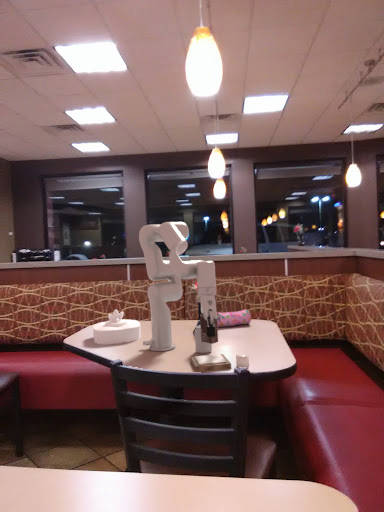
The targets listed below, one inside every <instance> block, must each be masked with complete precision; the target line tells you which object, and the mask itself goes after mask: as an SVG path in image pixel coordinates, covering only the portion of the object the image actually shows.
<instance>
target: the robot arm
mask: <svg viewBox="0 0 384 512" xmlns="http://www.w3.org/2000/svg"><path fill="white" fill-rule="evenodd" d="M189 234H190V231H189V227H188V225H187V223H185V222H183V221H165V222H162V223H161V224H160V223H159V224H157V223H155V224H154V223H153V224H151V223H150V224H146V225H144V226H142V227H141V228H140V230H139V234H138V240H139V244H140V247H141V250H142V252H143V255H144V261H145V268H146V273H147V277H148V279H149V280H151V281H165V280H167V281H166V282H157V283H152V284H150V286H149V287H148V288H147V296H148V301H149V307H150V308H149V309H150V323H151V339H149V340H143V341H142V345H143V346H145V347H146V346H149V347H148V348H149V350H150V351H153V352H166V351H167V352H168V351H171V350H174V349H175V348H176V344H175V343H174V342H173V338H172V337H173V336H172V335H173V334H172V317H171V316H172V315H171V314H172V313H171V310H170V309H171V308H170V307H169V306H168V305H167V303H168V302H176V301H178V300H180V299H182V297H183V293H184V292H183V290H184V289H183V285H182V280H191V279H196V282H197V283H196V284H197V296H199V297H200V312H201V313H202V314H203V317H204V319H205V320H206V321H207V337H214V336H215V325H214V319H215V320H216V319H217V302H216V301H217V300H216V296H217V282H216V281H217V279H216V265H215V261H213V260H202V259H198V260H196V259H195V260H193V259H192V260H184V261H183V260H182V259H181V257H180V256H181V255H183V253H184V252H186V250H187V249H188V245H189V243H188V241H187V240H186V239H187V238H188V236H189ZM158 242H159V243H161V242H163V243H164V244H165V246H166V247H167V249H168V250H169V255H168V259H167V260H166V259H163V254H162V250H161V248H160V247H159V245H157V244H156V243H158ZM213 316H214V317H213ZM209 317H210V319H208V318H209ZM208 321H209V322H208Z"/></svg>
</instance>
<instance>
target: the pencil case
mask: <svg viewBox="0 0 384 512" xmlns="http://www.w3.org/2000/svg"><path fill="white" fill-rule="evenodd" d="M251 321H252V315H251V312H250V311H249V310H247V308H245V309H242V310H239V311H227V312H225V311H224V312H223V311H219V312H217V328H223V327H226V328H228V327H234V326H238V325H250V324H251Z"/></svg>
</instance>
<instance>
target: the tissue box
mask: <svg viewBox="0 0 384 512" xmlns="http://www.w3.org/2000/svg"><path fill="white" fill-rule="evenodd" d="M124 315H125V312H124V311H123V310H122V311H120V312H119V310H118V309H114V310H113V312H112V313H108V314H107V319H108V320H107V321H101V322H97V323H95V324H93V325H92V332H93V341H94V344H96V343H97V345H113V344H112V343H116V344H122V343H123V342H125V343H130V342H131V341H132V342H136V341H138V339H139V340H141V339H142V329H141V328H142V327H141V326H142V325H141V323H140V322H139V321H138V320H136V319H122V318H123V317H124ZM140 338H141V339H140ZM135 340H136V341H135Z"/></svg>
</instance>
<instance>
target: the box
mask: <svg viewBox="0 0 384 512" xmlns="http://www.w3.org/2000/svg"><path fill="white" fill-rule="evenodd" d="M213 317H214V316H213ZM208 319H210V317H209V318H208ZM208 322H209V321H208ZM199 324H200V326H201V342H206V343H210V344H212V345H213V344H216V343H218V342H219V334H218V331H219V330H218V327H217V319H216V320H215V319H214V325H215V336H214V337H207V321H206V320H205V319H204V317H203V314H202V313H199Z"/></svg>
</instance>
